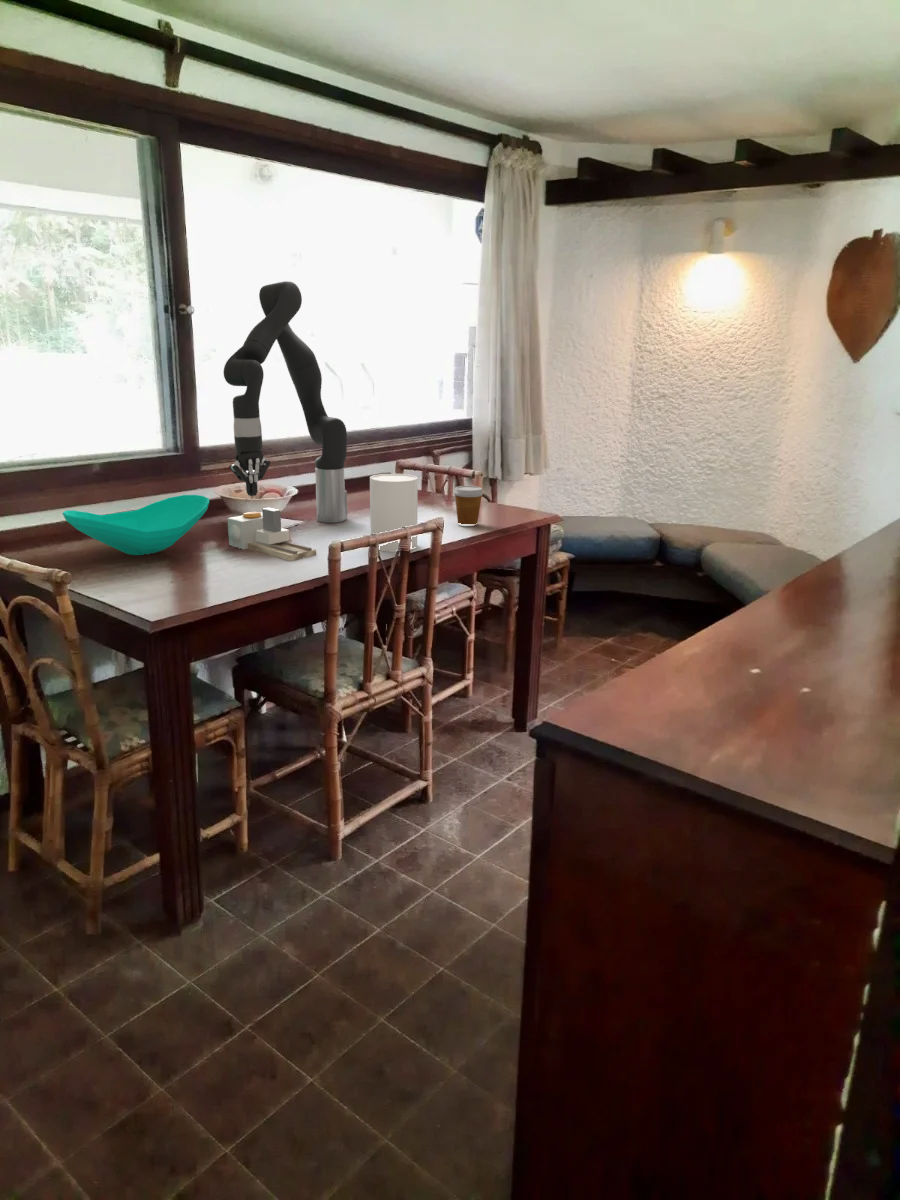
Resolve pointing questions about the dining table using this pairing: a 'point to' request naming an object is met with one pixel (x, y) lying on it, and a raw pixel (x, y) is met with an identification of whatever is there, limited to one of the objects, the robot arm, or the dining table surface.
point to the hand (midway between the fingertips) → (252, 495)
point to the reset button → (252, 515)
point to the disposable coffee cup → (468, 503)
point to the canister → (393, 504)
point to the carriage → (272, 528)
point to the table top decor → (142, 524)
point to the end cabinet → (243, 530)
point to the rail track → (283, 549)
